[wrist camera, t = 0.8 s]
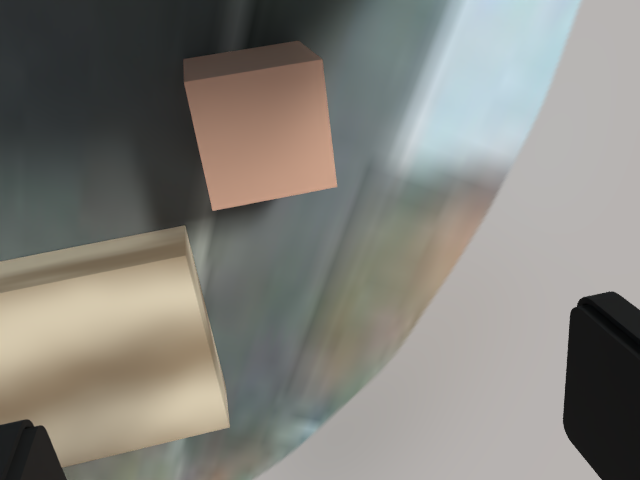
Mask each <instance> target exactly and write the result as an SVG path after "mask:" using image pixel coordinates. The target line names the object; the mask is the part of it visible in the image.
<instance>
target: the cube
mask: <svg viewBox="0 0 640 480" xmlns="http://www.w3.org/2000/svg"><path fill="white" fill-rule="evenodd" d="M183 70H184V85H185V89H186V94H187V98H188V103H189V107H190V112H191V116H192V121H193V125H194V130H195V134H196V139H197V143H198V148H199V152H200V157H201V161H202V166H203V170H204V175H205V179H206V183H207V188H208V192H209V197H210V201H211V206H212V210H213V211H215V210H220V209H226V208H231V207H236V206H241V205H246V204H251V203H256V202H262V201H267V200H272V199H277V198H282V197H287V196H292V195H298V194H303V193H308V192H313V191H318V190H323V189H328V188H334V187H337V181H336V173H335V164H334V155H333V147H332V138H331V130H330V121H329V112H328V104H327V95H326V87H325V78H324V69H323V61H322V59H321V58H320V57H319V56H318V55H316V54H315V53H314V52H312V51H311V50H310V49H309V48H307V47H306V46H305V45H304V44H302V43H301V42H300V41H293V42H287V43H280V44H274V45H268V46H262V47H255V48H249V49H243V50H237V51H230V52H224V53H218V54H212V55H205V56H199V57H193V58H187V59H183Z"/></svg>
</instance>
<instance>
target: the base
mask: <svg viewBox="0 0 640 480" xmlns="http://www.w3.org/2000/svg"><path fill="white" fill-rule="evenodd" d="M25 419H28V420H30V421H31V422H32V423H33V425H34V427H35V426H39V425H42V426H44V427H45V429H46V430H47V433H48V435H49V437H50V440H51V442H52V445H53V447H54V450H55V452H56V455H57V457H58V460H59V462H60V464H61V467H62V468H63V467H67V466H71V465H75V464H79V463H83V462H88V461H92V460H96V459H100V458H104V457H108V456H112V455H117V454H121V453H125V452H129V451H133V450H137V449H141V448H146V447H150V446H154V445H158V444H162V443H166V442H170V441H175V440H179V439H183V438H187V437H191V436H195V435H199V434H204V433H208V432H212V431H216V430H220V429H224V428H228V427H230V424H229V414H228V405H227V395H226V386H225V382H224V378H223V374H222V370H221V366H220V362H219V358H218V354H217V350H216V346H215V342H214V338H213V334H212V330H211V326H210V322H209V318H208V314H207V310H206V306H205V302H204V298H203V294H202V290H201V286H200V282H199V278H198V274H197V270H196V266H195V262H194V258H193V254H192V251H191V247H190V243H189V239H188V235H187V231H186V227H185V225H183V226H178V227H173V228H168V229H163V230H158V231H153V232H148V233H143V234H138V235H133V236H127V237H122V238H117V239H112V240H107V241H102V242H97V243H92V244H87V245H82V246H77V247H71V248H66V249H61V250H56V251H51V252H46V253H41V254H36V255H31V256H26V257H21V258H16V259H10V260H5V261H0V425H2V424H7V423H11V422H16V421H20V420H25Z"/></svg>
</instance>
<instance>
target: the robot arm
mask: <svg viewBox="0 0 640 480" xmlns="http://www.w3.org/2000/svg"><path fill="white" fill-rule="evenodd" d="M566 371H567V372H566V384H565V399H564V413H563V424H564V429H565V432H566V434H567V436H568V438H569V440H570V441H571V442H572V444H573V445H574V446H575V447H576V448H577V450H578V451H579V452H580V453H581V455H582V456H583V457H584V458H585V460H586V461H587V462H588V463H589V464H590V466H591V467H592V468H593V469H594V471H595V472H596V473H597V474H598V476H599V477H600V478H601V479H602V480H640V310H639V309H637V308H636V307H635V306H634V305H632V304H631V303H629V302H628V301H627V300H626V299H624V298H623V297H622V296H620V295H619V294H617V293H615V292H606V293H602V294H597V295H592V296H587V297H583V298H582V299H580V300H579V302H578V305H577V307H575V308H573V309H572V311H571V314H570V325H569V340H568V356H567V369H566ZM0 480H67V479H66V477H65V474H64V472H63V469H62V467H61V464H60V462H59V460H58V457H57V455H56V452H55V450H54V447H53V445H52V442H51V440H50V437H49V435H48V433H47V430H46V429H45V427H44V426H42V425H39V426H35V427H34V425H33V423H32V422H31V421H30V420H28V419H25V420H20V421H16V422H11V423H7V424H2V425H0Z"/></svg>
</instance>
